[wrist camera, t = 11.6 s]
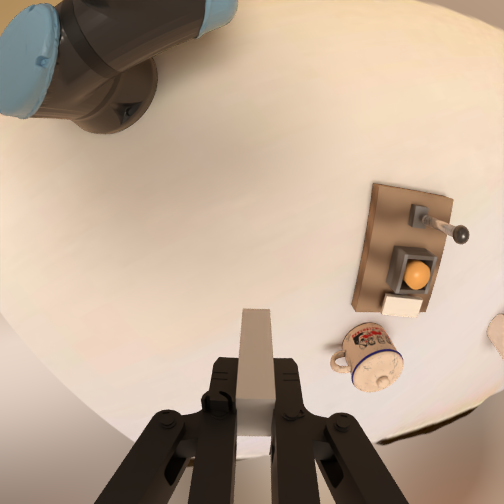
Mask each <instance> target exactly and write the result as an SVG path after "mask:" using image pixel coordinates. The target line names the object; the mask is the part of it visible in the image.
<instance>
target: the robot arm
mask: <svg viewBox="0 0 504 504" xmlns="http://www.w3.org/2000/svg"><path fill="white" fill-rule="evenodd" d="M237 6H238V0H63V1H62V2H60V3H59V4H58V5H56V6H55V7H54V6H52V5H51V4H47V3H45V4H37V5H31V6H29V7H27V8H25V9H24V10H23V11H21V12H20V13H19V14H18V15H16V16H15V17H14V19H13V20H12V21H11V22H10V23H9V25H8V26H7V27H6V28H5V30H4V32H3V33H2V35H1V37H0V113H1V114H3V115H5V116H13V117H18V118H19V119H28V118H53V119H70V120H72V121H73V122H74V123H76V124H77V125H78V126H79V127H81V128H82V129H84V130H86V131H88V132H91V133H97V134H111V133H116V132H119V131H122V130H124V129H126V128H128V127H129V126H131V125H132V124H134V123H135V122H136V121H137V120H138V119H139V118H140V117H141V116H142V115H143V114H144V113H145V111H146V110H147V108H148V107H149V105H150V103H151V101H152V99H153V97H154V94H155V91H156V87H157V69H156V65H155V62H154V60H153V58H152V57H153V56H155V55H157V54H159V53H161V52H163V51H165V50H167V49H169V48H172V47H174V46H176V45H178V44H181V43H183V42H185V41H187V40H190V39H192V38H193V39H198V38H200V37H201V36H202V35H203V34H205V33H207V32H210V31H212V30H215V29H217V28H220V27H222V26H224V25H226V24H228V23H229V22H230V21H231V20H232V18H233V17H234V16H235V14H236V11H237ZM201 404H202V410H200V411H199V412H197V413H193V414H188V415H181V414H180V413H178V412H176V411H175V410H169V409H168V410H162V411H159V412H157V413H156V414H155V415H154V416H153V417H152V419H151V420H150V422H149V423H148V425H147V426H146V428H145V429H144V431H143V432H142V434H141V435H140V437H139V438H138V440H137V441H136V443H135V444H134V445H133V447H132V449H131V450H130V452H129V453H128V454H127V456H126V457H125V459H124V460H123V462H122V463H121V465H120V466H119V468H118V469H117V471H116V472H115V474H114V475H113V476H112V478H111V479H110V481H109V482H108V484H107V485H106V487H105V488H104V490H103V491H102V493H101V494H100V495H99V497H98V498H97V500H96V501H95V503H94V504H167V503H168V501H169V499H170V497H171V496H172V494H173V492H174V490H175V488H176V486H177V484H178V482H179V480H180V478H181V476H182V474H183V473H184V471H185V469H186V467H187V465H188V463H189V461H190V459H191V457H195V461H194V467H193V473H192V480H191V486H190V492H189V499H188V504H233V502H234V485H235V466H236V450H237V436H271V446H270V453H269V455H271V490H272V491H271V492H272V504H320V498H319V490H318V482H317V474H316V467H315V460H316V462H317V464H318V466H319V469H320V471H321V473H322V475H323V477H324V479H325V481H326V484H327V486H328V488H329V490H330V492H331V494H332V496H333V498H334V500H335V502H336V504H409V503H408V502H407V500H406V498H405V497H404V495H403V494H402V492H401V490H400V489H399V487H398V486H397V484H396V482H395V481H394V479H393V478H392V476H391V474H390V473H389V471H388V469H387V468H386V466H385V465H384V463H383V462H382V460H381V458H380V457H379V455H378V453H377V452H376V450H375V449H374V447H373V445H372V444H371V442H370V441H369V439H368V437H367V436H366V434H365V433H364V431H363V429H362V428H361V426H360V425H359V423H358V421H357V420H356V419H355V418H354V417H353V416H352V415H350V414H348V413H335V414H333V415H331V416H330V417H329V418H326V417H321V416H317V415H314V414H312V413H310V412H309V411H308V410H307V409H306V408H305V407H304V404H303V398H302V392H301V385H300V379H299V372H298V366H297V364H296V363H295V361H294V360H293V359H292V358H273V348H272V333H271V318H270V309H243V312H242V325H241V337H240V350H239V358H226V357H219V358H218V359H217V360H216V362H215V363H214V365H213V370H212V376H211V382H210V388H209V391H207V392H206V393H205V394H203V396H202V398H201ZM314 459H315V460H314Z"/></svg>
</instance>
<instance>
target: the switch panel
mask: <svg viewBox="0 0 504 504" xmlns="http://www.w3.org/2000/svg"><path fill="white" fill-rule="evenodd" d="M452 205H453V199H451V198H448V197H445V196H440V195H436V194H431V193H425V192H420V191H415V190H409V189H404V188H398V187H392V186H386V185H380V184H373V188H372V196H371V203H370V210H369V217H368V223H367V229H366V235H365V241H364V247H363V252H362V257H361V263H360V268H359V273H358V277H357V282H356V287H355V291H354V296H353V300H352V306H353V308H354V310H355V312H381V309H382V305H383V301H384V298H385V294H395V295H404V296H413V297H421V298H422V299H423V302H422V305H421V308H420V311H419V312H426V309H427V306H428V303H429V300H430V297H431V294H432V290H433V287H434V284H435V280H436V277H437V273H438V269H439V266H440V262H441V258H442V254H443V250H444V246H445V241H446V237H447V234H445V233H443V232H441V231H438V230H436V229H434V228H431V227H429V226H427V225H425V224H423V222H422V218H423V216H425V215H428V216H431V217H433V218H436V219H438V220H441V221H443V222H446V223H448V224H449V222H450V217H451V211H452ZM407 259H418V260H420V261H422V262H423V263H424V264H425V265H427V266H428V267H429V269H430V278H429V281H428V282H427V284H426V285H425V286H424V287H422V288H421V289H417V290H414V289H412V288H410V287H409V286H408V285H407V283H406V282H405V281H404V280H403V276H404V272H405V268H406V264H407Z"/></svg>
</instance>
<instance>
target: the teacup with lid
mask: <svg viewBox="0 0 504 504" xmlns="http://www.w3.org/2000/svg"><path fill="white" fill-rule="evenodd" d="M342 348H343V351H339V352H336V353H335V354H334V355H333V356H332V358H331V361H330V365H331V368H332V369H333V370H334V371H336V372H338V373H349V372H351V375H352V383H353V384H354V386H355V387H356V388H357V389H359V390H361V391H364V392H376V391H379V390H382V389H384V388H386V387H388V386H390V385H391V384H392V383H393V382H395V381H396V379H397V378H398V377H399V376H400V374H401V372H402V369H403V358H402V356H401V354H400V353H399V352H397V350H396V348H395V347H394V345H393V343H392V342H391V340H390V338H389V337H388V335H387V333H386V332H385V330H384V329H383V328H382V327H381V326H380V325H378V324H374V323H367V324H362V325H360V326H358V327H356V328H354V329H353V330H352V331H350V332H349V333H348V335H347V336H346V337H345V339H344V342H343V347H342ZM340 357H345V358H346V361H347V364H348V366H339V365H337V364H336V363H335V360H336V359H338V358H340Z"/></svg>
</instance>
